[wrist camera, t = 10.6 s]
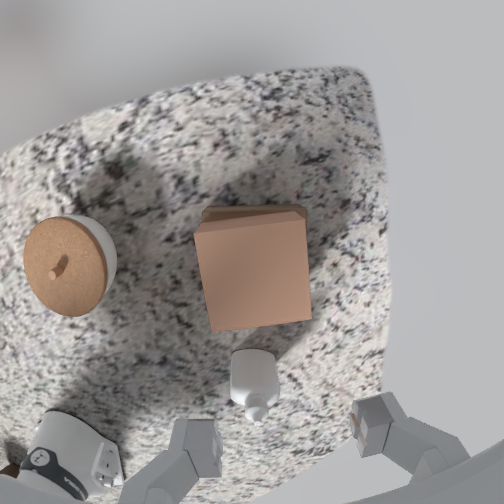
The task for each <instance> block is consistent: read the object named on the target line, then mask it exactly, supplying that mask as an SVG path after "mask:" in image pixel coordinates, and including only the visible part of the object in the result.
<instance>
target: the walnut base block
mask: <svg viewBox="0 0 504 504" xmlns="http://www.w3.org/2000/svg"><path fill="white" fill-rule="evenodd" d="M290 211H295V212H296V213H297V214H299V215H300V216H301V217H302V218H304V219H305V226H306V238H307V210H306V209H305V208H303V207H302V206H300V205H299V204H273V205H236V206H209V207H207V208H206V209H205V210H204V211H203V212H202V216H203V223H204V222H211V221H219V220H226V219H234V218H241V217H249V216H257V215H265V214H273V213H282V212H290Z"/></svg>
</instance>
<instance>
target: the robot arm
mask: <svg viewBox="0 0 504 504" xmlns="http://www.w3.org/2000/svg"><path fill="white" fill-rule="evenodd" d="M352 409H353V412H354V413H353V414H352V415H351V419H350V425H351V431H352V434H353V437H354V438H356V439H357V440H358V442H357V448H358V450H359V453H360V455H361V457H362V458H363V457H368V456H372V455H376V454H380V453H382V454H383V455H385V456H386V457H388V458H389V459H391V460H392V461H393V462H395V463H396V464H398V465H399V466H401V467H402V468H404V469H405V470H407V471H408V472H409V473H411V474H412V475H413V476H412V478H411V480H410V482H409V484H408V485H407V486H404V487H401V488H398V489H395V490H392V491H389V492H386V493H382V494H379V495H376V496H372V497H369V498H365V499H361V500H357V501H354V502H349V503H345V504H504V439H503V440H502V441H500V442H499V443H497V444H495V445H493V446H492V447H490V448H488V449H486V450H484V451H483V452H481V453H479V454H477V455H475V456H473V457H470V456H469V454H468V453H467V451H466V449H465V448H464V446H463V445H462V444H461V442H460V441H459V439H458V438H457V437H455V436H453V435H451V434H448V433H446V432H443V431H441V430H439V429H437V428H434V427H432V426H430V425H427V424H426V423H423V422H421V421H419V420H417V419H415V418H412V417H409V418H407V416H406V414H405V413H404V411H403V409H402V408H401V406H400V405H399V403H398V401H397V400H396V398H395V396H394V395H393V393H392V392H386V393H382V394H378V395H374V396H370V397H366V398H362V399H358V400H354V401H353V403H352ZM35 430H36V431H37V432H36V434H35V436H34V438H33V440H32V443H31V445H30V447H29V450H28V452H27V454H28V455H27V456H26V457H25V459H24V460H23V461H22V463H21V466H20V468H19V472H20V473H19V475H18V477H17V479H15V478H13V477H11V476H8V475H5V474H0V504H92V503H88V502H85V501H86V499H87V498H88V497H97V496H104V495H106V494H107V493H108V491H109V489H110V488H112V487H113V485H122V484H123V483H124V477H123V472H122V467H121V462H120V457H119V451H118V447H117V445H116V444H115V443H113V442H111V441H110V440H108V439H106V438H104V437H102V436H101V435H99V434H98V433H97V432H96V431H95V430H94V429H92V428H91V427H90V426H88V425H87V424H85V423H84V422H82V421H81V420H79V419H77V418H75V417H73V416H71V415H68V414H66V413H62V412H58V411H49V412H46V413H45V414H44V415H43V417H42V421H41V422H40V423H38V424H37V425H36V428H35ZM222 455H223V444H222V437H221V433H220V432H219V431H218V423H217V419H176V420H175V422H174V426H173V430H172V435H171V439H170V444H169V448H168V450H164V451H163V452H162V453H160V454H159V455H158V456H157V457H156V458H155V459H153V460H152V461H151V462H150V463H149V464H147V465H146V466H145V467H144V468H143V469H141V470H140V471H139V472H138V473H137V474H135V475H134V476H133V477H132V478H130V479H129V480H128V481H127V482H125V483H124V486H123V489H122V492H121V496H120V499H119V502H118V504H179V503H180V501H181V500H182V499H183V498H184V497H185V496H186V494H187V493H188V492H189V491H190V490H191V488H192V487H193V486H194V485H195V483H196V482H197V481H198V480H199V478H211V477H222V462H221V458H220V457H221V456H222Z"/></svg>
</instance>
